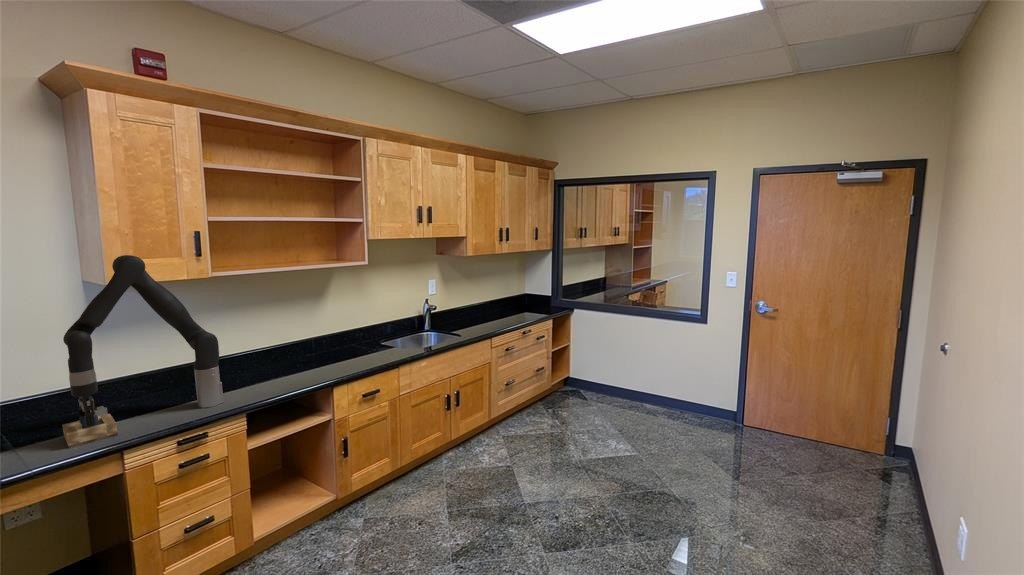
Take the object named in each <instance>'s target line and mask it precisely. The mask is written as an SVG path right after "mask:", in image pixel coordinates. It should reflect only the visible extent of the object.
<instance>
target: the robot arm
mask: <svg viewBox="0 0 1024 575" xmlns="http://www.w3.org/2000/svg"><path fill="white" fill-rule="evenodd" d="M112 271H113V275H112V277H111V278H110V280H109V281H108V283H107V284H106V285H105V286H104V288H103V289H102V290H101V291H100V292H99V293H97V295H95V296H94V297H93V299H92V300H90V302H89V304H88V305H87V306H86V307H85V308H84V310H83V312H82V313H81V315H79V318H78V319H77V320H76V321H75V322H74V323H72V325H71V326H70V327H68V329H67V331H66V332H65V333H64V336H63V343H64V344H65V345H66V346H67V351H68V352H67V353H68V359H67V366H68V375H69V376H68V378H69V380H68V381H69V387H70V395H71V396H72V397H75V398H77V397H78V399H77V400H78V404H79V406H80V405H81V408H82V412H84V413H85V417H86V424H87V426H92V425H94V424H95V422H94V415H95V413H94V410H95V403H94V402H95V400H94V397H93V396H91V395H93V394H95V393H98V391H99V389H98V388H99V387H98V380H97V374H96V371H95V366H94V359H93V340H92V337H91V336H92V335H93V333H94V332H95V330H96V329H97V328H99V327H101V326H102V324H103V323H104V322H105V320H106V319H107V318H108V317H109V315H110V314H111V312H112V311H113V309H114V308H115V306H116V305H117V303H118V301H120V299H121V298H122V297H123V295H124V294H125V293H126V292H127V290H129V288H130V287H132V288H133V289H134V290H135V291H136V292H137V294H139V296H140V297H141V298H142V299H143V300H144V301H145V303H146V304H147V305H149V307H150V308H151V309H152V310H153V311H154V312H155V313H156V314H157V315H158V316H159V317H160V318H161V319H162V320H163V321H165V323H166V324H168V325H169V326H170V327H172V328H173V329H174V330H176V331H177V332H178V333H179V335H181V336H182V337H183V339H184V340H185V342H186V343H187V344H188V345H189V346H190V348H191V349H192V350H194V357H195V360H194V362H193V370H194V371H193V373H194V380H195V390H196V391H195V392H196V398H197V400H196V401H197V407H198V408H212V407H216V406H218V405H220V404H223V403H224V402H225V401H224V392H223V383H222V381H221V378H220V377H221V376H220V369H219V367H220V366H219V360H220V347H219V340H218V337H217V336H216V334H214V333H212V332H209V331H207V330H205V329H204V328H202V326H201V325H200V324H198V323H197V322H196V321H195V320H194V319H193V317H192V316H191V315H190V313H189V311H188V309H187V307H185V305H184V304H183V303H182V302H181V301H180V299H178V298H177V296H176V295H174V294H173V293H172V292H171V291H170V290H168V289H167V288H166V287H165V286H163V285H161V283H159V282H157V281H156V280H155V279H154V278H153V277H152V276H151V275H150V274H149V273H148V272H147V271H146V263H145V262H144V260H143V259H142V258H141V257H138V256H136V255H128V254H125V255H119V256H117V257H116V258H115V259H114V260H113V262H112ZM84 408H85V409H84ZM90 411H91V412H90Z"/></svg>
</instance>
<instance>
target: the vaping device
mask: <svg viewBox="0 0 1024 575" xmlns="http://www.w3.org/2000/svg"><path fill="white" fill-rule="evenodd" d="M84 409H85V408H84ZM77 411H78V416H79V419H78V420H79V421H80V423H81V424H82V429H84V428H88V427H92V426H96V425H99V421H98V416H97V414H96V412H94V413H95V415H94V422H95V424H94V425H92V426H87V424H86V417H85V413H84V412H82V408H81V405H80V404H79V407H78V409H77Z"/></svg>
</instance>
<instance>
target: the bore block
mask: <svg viewBox="0 0 1024 575" xmlns="http://www.w3.org/2000/svg"><path fill="white" fill-rule="evenodd" d="M98 421H99V425H96V426H92V427H88V428H84V429H82V424H81V423H80V420H77V421H72V422H67V423H64V424H62V425H61V426H62V433H63V437H64V440H65V443H66V445H67V447H68V449H71V447H72V448H75V446H76V447H79V446H83V445H86V444H90V443H95V442H97V441H98V442H99V441H102V440H105V439H109V438H113V437H115V436H116V437H118V435H119V433H118V426H117V422H116V420H115V419H114V417H113V416H112V415H111V413H108V414H106V415H101V416H98Z"/></svg>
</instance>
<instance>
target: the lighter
mask: <svg viewBox="0 0 1024 575" xmlns="http://www.w3.org/2000/svg"><path fill="white" fill-rule="evenodd" d="M90 412H91V411H90ZM94 412H96V414H97V416H101V415H106V414H109V412H108V407H106V406H105V407H104V406H103V405H100V406H97V407H96V409H94Z"/></svg>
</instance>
